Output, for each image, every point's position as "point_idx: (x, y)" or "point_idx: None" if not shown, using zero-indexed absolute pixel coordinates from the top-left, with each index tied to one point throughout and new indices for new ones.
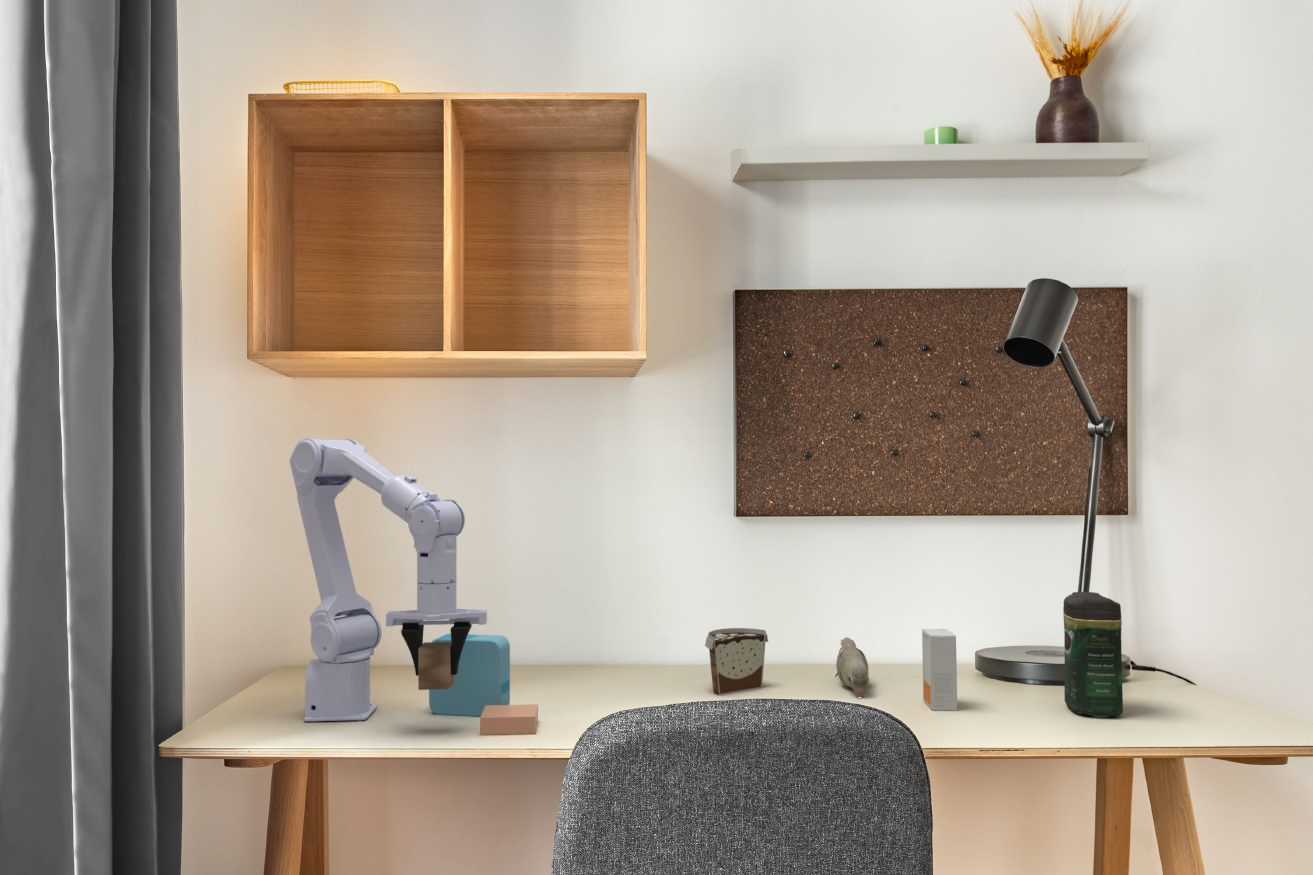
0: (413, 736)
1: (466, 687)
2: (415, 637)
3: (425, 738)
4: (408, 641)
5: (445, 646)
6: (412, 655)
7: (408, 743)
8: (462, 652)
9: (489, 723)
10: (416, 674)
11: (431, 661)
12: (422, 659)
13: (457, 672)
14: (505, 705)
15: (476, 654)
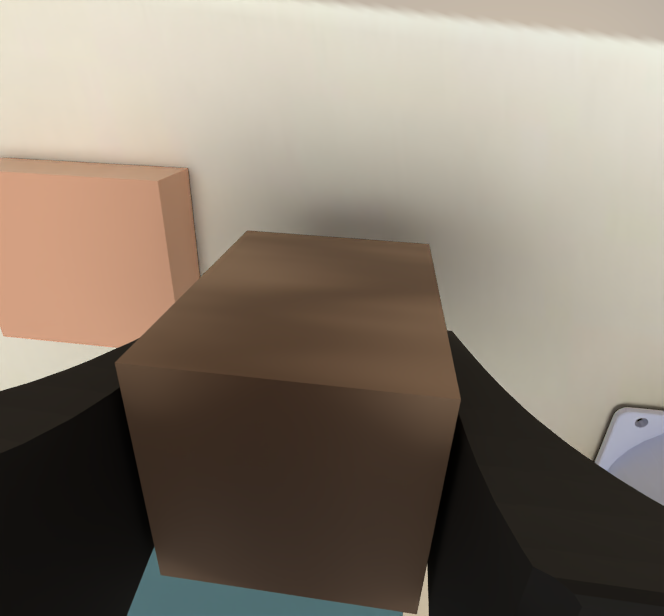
0: (436, 188)
1: None
2: (529, 514)
3: (387, 153)
4: (615, 491)
5: (179, 427)
6: (510, 397)
7: (452, 86)
8: (223, 610)
9: (133, 174)
10: (451, 331)
11: (329, 312)
12: (409, 327)
13: None
14: (111, 340)
15: (151, 578)
